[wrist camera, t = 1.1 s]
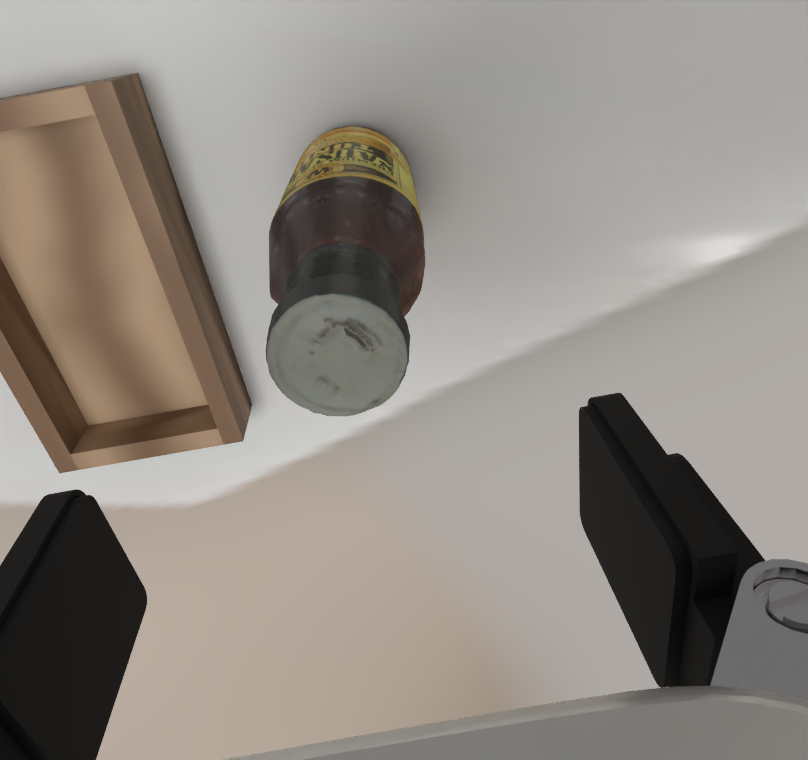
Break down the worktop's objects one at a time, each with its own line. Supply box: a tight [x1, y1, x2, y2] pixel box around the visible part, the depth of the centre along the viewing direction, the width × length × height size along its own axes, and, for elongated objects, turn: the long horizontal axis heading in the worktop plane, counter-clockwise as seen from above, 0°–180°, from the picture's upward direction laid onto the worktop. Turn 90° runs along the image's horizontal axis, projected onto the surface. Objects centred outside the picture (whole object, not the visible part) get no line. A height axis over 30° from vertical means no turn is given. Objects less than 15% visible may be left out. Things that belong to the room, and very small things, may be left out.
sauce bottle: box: [266, 126, 425, 416], centre depth 25 cm, size 7×6×20 cm
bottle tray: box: [0, 73, 252, 473], centre depth 34 cm, size 11×20×4 cm, turn 9°
